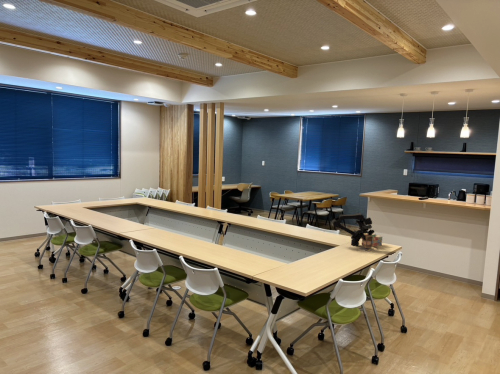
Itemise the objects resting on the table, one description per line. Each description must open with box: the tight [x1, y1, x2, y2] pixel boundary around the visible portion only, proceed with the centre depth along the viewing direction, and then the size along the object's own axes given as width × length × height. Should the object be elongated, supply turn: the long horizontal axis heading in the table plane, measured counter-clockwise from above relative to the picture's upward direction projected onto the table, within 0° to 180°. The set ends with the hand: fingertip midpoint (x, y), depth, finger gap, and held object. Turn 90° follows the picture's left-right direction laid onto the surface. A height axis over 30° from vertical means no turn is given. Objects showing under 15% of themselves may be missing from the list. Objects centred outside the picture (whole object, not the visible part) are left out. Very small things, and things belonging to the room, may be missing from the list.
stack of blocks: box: [361, 232, 383, 247], centre depth 349 cm, size 21×6×12 cm, turn 117°
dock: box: [359, 246, 374, 252], centre depth 331 cm, size 9×12×2 cm
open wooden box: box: [361, 235, 373, 248], centre depth 331 cm, size 6×6×11 cm
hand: (368, 240), depth 329 cm, fingers closed on open wooden box, 6 cm apart
